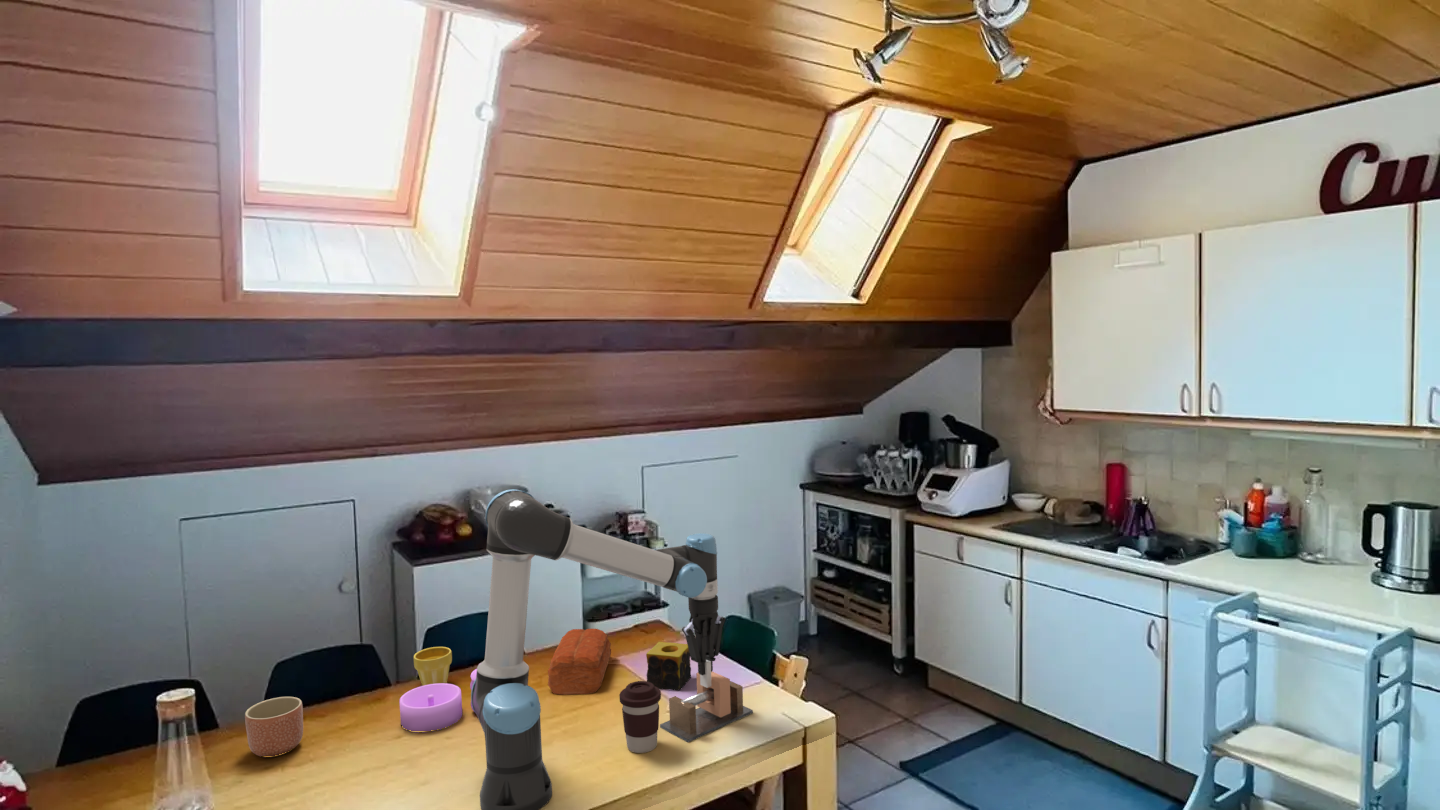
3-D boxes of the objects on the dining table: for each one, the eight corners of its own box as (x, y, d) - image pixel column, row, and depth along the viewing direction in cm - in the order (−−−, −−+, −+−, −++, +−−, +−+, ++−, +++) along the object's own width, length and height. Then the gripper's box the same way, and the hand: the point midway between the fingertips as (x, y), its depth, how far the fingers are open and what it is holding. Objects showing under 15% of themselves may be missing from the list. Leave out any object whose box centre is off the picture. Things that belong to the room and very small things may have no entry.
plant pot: (413, 682, 242) (411, 650, 241) (450, 675, 246) (449, 643, 245) (417, 696, 232) (415, 662, 231) (455, 689, 237) (453, 655, 236)
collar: (720, 717, 210) (719, 683, 209) (697, 706, 217) (696, 672, 216) (730, 712, 213) (729, 678, 212) (707, 701, 219) (706, 669, 218)
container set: (397, 736, 209) (394, 686, 208) (404, 710, 224) (401, 663, 223) (500, 722, 216) (497, 673, 215) (500, 697, 230) (497, 651, 229)
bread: (613, 656, 257) (611, 623, 256) (601, 694, 231) (600, 657, 230) (562, 658, 257) (561, 625, 256) (545, 696, 231) (544, 659, 230)
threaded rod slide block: (687, 742, 202) (686, 711, 201) (660, 727, 210) (659, 697, 209) (752, 712, 217) (752, 683, 216) (724, 699, 225) (723, 671, 224)
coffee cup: (656, 758, 195) (654, 696, 194) (616, 755, 197) (613, 694, 196) (667, 737, 205) (665, 679, 203) (628, 735, 207) (626, 676, 205)
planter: (315, 744, 206) (312, 702, 205) (267, 768, 195) (263, 723, 194) (286, 733, 212) (283, 692, 211) (237, 755, 202) (233, 712, 201)
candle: (646, 688, 234) (644, 653, 233) (659, 673, 243) (657, 640, 242) (680, 692, 231) (679, 657, 230) (691, 677, 240) (690, 643, 239)
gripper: (693, 605, 203) (696, 697, 205) (732, 592, 212) (734, 682, 214) (673, 598, 209) (676, 688, 211) (712, 586, 217) (715, 673, 220)
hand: (705, 685), depth 212 cm, fingers closed
